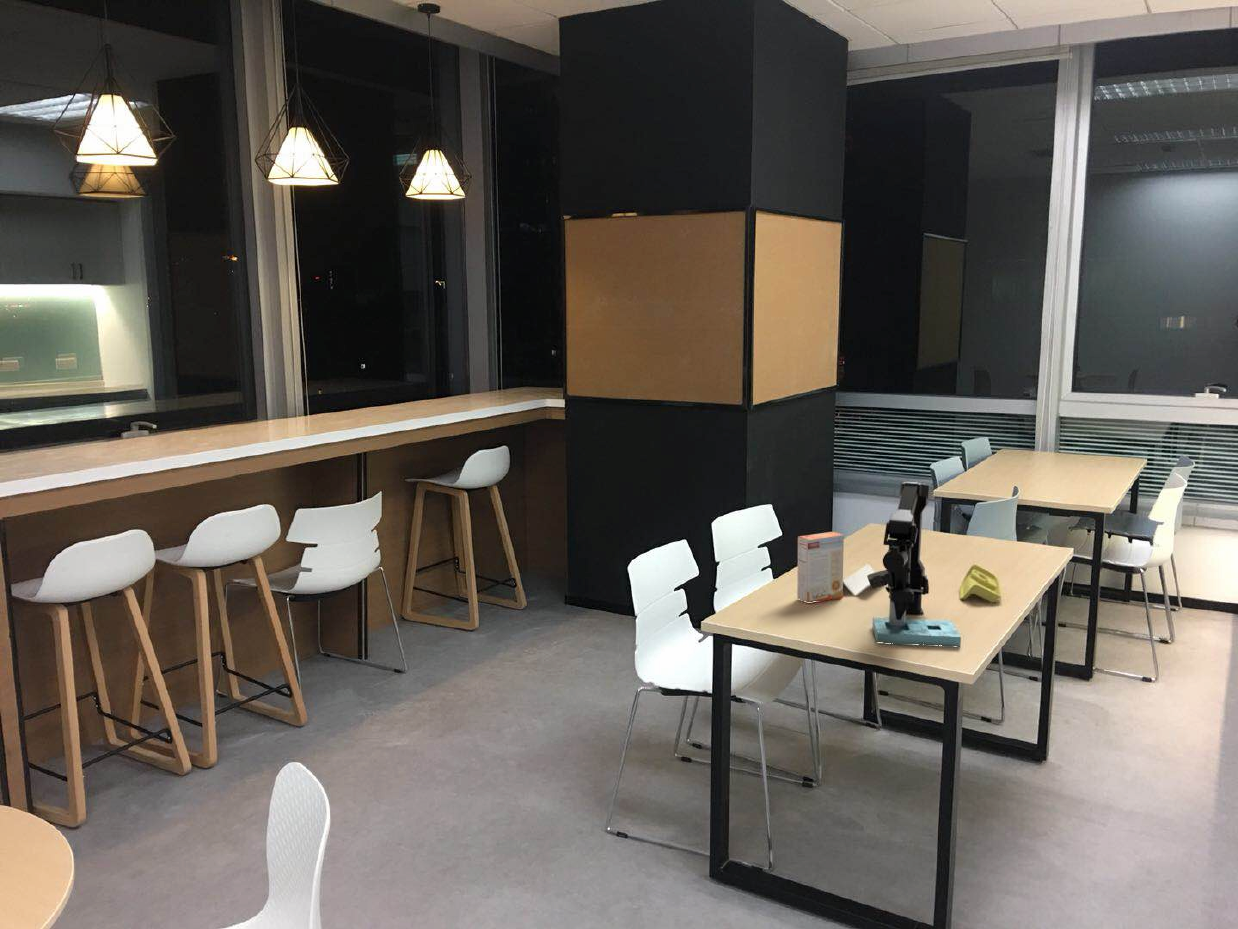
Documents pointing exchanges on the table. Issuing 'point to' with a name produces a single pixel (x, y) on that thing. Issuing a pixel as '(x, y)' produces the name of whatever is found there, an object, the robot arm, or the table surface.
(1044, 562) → the table surface
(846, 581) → the z bracket
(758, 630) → the table surface
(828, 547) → the cracker box
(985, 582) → the plastic component
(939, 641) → the plate
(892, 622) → the grey cylinder
